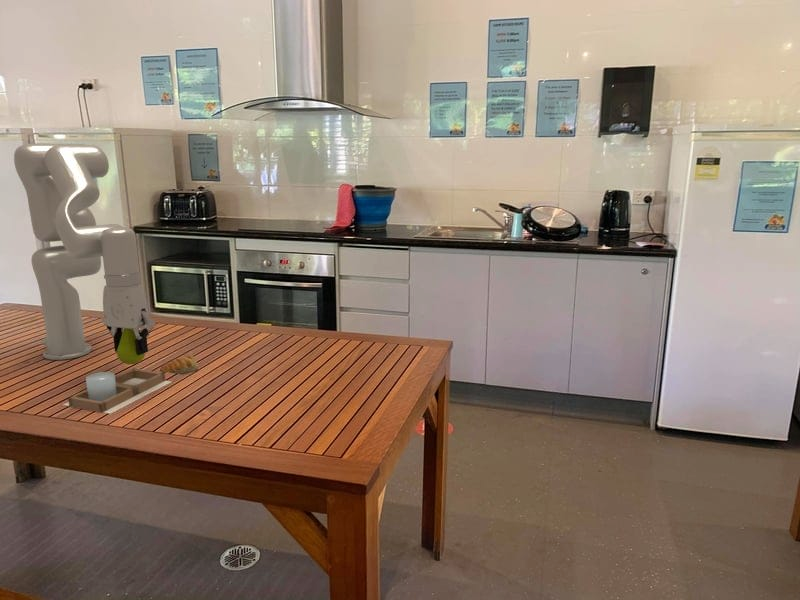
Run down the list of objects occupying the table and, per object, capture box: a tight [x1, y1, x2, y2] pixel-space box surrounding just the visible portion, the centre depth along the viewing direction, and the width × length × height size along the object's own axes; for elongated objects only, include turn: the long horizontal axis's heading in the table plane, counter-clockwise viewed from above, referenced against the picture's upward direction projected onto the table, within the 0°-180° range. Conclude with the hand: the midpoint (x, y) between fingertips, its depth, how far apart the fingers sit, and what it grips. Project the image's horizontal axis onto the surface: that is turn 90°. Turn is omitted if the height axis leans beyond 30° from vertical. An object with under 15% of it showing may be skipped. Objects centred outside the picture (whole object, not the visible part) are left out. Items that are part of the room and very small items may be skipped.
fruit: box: [116, 328, 146, 365], centre depth 145 cm, size 6×6×12 cm
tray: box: [62, 368, 172, 414], centre depth 143 cm, size 14×20×3 cm
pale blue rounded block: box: [85, 371, 117, 401], centre depth 138 cm, size 6×6×6 cm
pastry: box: [159, 354, 199, 375], centre depth 161 cm, size 9×7×4 cm
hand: (131, 351), depth 146 cm, fingers closed on fruit, 5 cm apart
